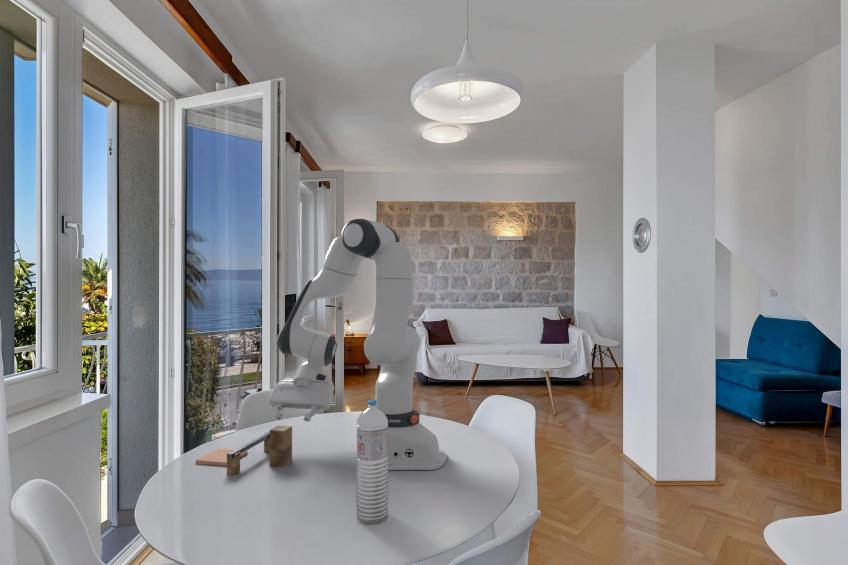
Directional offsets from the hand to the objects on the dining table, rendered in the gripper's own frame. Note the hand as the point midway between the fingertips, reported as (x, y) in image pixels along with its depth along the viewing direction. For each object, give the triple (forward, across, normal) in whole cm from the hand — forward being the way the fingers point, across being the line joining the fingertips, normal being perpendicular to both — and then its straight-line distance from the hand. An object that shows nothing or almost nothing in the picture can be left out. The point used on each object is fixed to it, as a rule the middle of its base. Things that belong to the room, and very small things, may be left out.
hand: (292, 419), depth 135 cm
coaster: (+12, -19, +3) cm, 23 cm away
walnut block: (+12, 0, +3) cm, 13 cm away
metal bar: (+9, -9, 0) cm, 13 cm away
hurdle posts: (+12, -9, +3) cm, 15 cm away
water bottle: (+30, +36, -15) cm, 49 cm away
